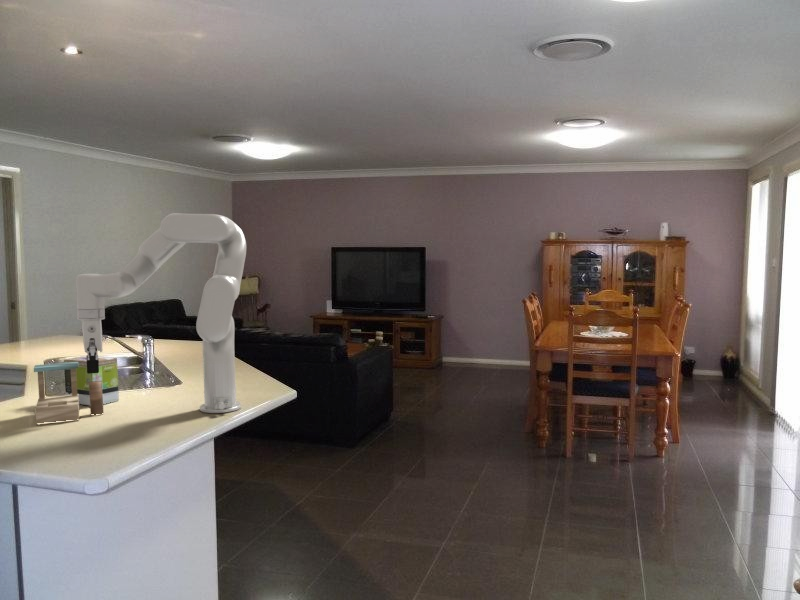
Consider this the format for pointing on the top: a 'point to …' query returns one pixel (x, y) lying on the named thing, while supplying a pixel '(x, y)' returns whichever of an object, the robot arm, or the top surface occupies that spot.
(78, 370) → the tea box
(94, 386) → the peg
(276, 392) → the top surface
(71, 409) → the socket block
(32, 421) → the top surface
